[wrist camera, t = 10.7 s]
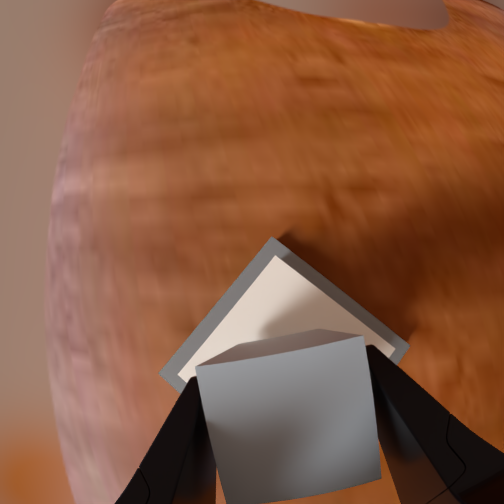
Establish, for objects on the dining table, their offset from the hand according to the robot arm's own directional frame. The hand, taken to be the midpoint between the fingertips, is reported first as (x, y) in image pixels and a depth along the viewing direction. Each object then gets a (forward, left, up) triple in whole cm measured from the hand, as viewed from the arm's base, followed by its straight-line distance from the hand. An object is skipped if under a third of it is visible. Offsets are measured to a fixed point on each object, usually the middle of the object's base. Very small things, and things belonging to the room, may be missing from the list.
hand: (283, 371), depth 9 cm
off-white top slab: (-1, +1, -11) cm, 11 cm away
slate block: (-1, +1, -7) cm, 7 cm away
